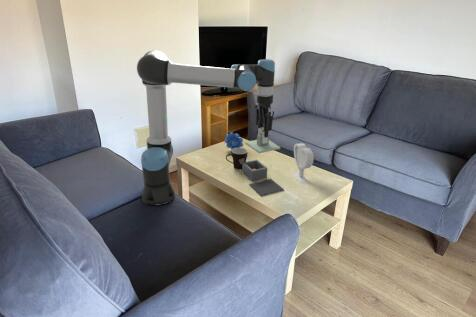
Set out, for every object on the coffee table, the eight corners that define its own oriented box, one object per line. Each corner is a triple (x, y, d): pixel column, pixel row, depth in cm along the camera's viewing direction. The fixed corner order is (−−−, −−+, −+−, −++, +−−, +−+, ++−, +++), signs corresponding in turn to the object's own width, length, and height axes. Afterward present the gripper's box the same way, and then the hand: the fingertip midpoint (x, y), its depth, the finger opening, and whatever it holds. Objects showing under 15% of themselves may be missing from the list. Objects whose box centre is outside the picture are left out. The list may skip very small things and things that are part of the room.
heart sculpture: (290, 171, 188) (293, 141, 180) (298, 170, 189) (301, 140, 182) (302, 185, 175) (306, 153, 167) (311, 184, 176) (315, 152, 168)
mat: (261, 196, 164) (261, 195, 164) (249, 185, 174) (249, 184, 174) (283, 190, 170) (283, 189, 170) (270, 179, 179) (271, 178, 179)
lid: (259, 153, 161) (259, 141, 158) (245, 143, 171) (245, 132, 169) (280, 148, 166) (280, 137, 164) (265, 139, 177) (266, 128, 174)
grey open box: (251, 181, 177) (252, 171, 175) (242, 172, 186) (242, 162, 184) (266, 178, 181) (267, 167, 178) (256, 169, 190) (256, 159, 187)
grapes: (224, 153, 209) (224, 135, 203) (224, 148, 215) (224, 131, 209) (243, 153, 209) (243, 135, 204) (242, 149, 215) (243, 131, 210)
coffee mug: (247, 164, 196) (248, 148, 191) (246, 171, 188) (246, 154, 184) (227, 162, 197) (227, 146, 192) (225, 169, 189) (225, 153, 185)
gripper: (281, 97, 153) (278, 146, 163) (262, 89, 166) (260, 135, 176) (267, 99, 150) (265, 148, 160) (249, 91, 162) (247, 137, 172)
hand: (262, 141), depth 168 cm, fingers closed on lid, 3 cm apart
